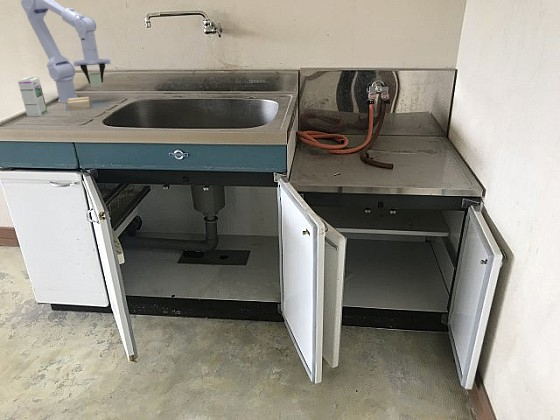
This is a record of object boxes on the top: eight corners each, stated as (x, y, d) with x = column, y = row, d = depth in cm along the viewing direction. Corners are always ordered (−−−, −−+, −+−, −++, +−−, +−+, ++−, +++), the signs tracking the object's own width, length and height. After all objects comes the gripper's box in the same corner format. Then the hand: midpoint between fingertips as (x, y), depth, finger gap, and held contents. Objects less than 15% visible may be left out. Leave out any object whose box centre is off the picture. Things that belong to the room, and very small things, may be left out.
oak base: (69, 105, 200) (68, 98, 198) (89, 103, 202) (88, 96, 201) (69, 110, 193) (68, 102, 192) (90, 108, 196) (88, 100, 194)
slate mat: (66, 104, 204) (66, 103, 204) (107, 100, 209) (107, 99, 209) (65, 112, 192) (65, 111, 192) (109, 108, 197) (109, 106, 197)
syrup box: (41, 117, 186) (32, 79, 180) (26, 117, 186) (17, 80, 180) (48, 113, 191) (39, 76, 185) (33, 113, 191) (24, 77, 185)
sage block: (90, 85, 203) (88, 73, 201) (101, 84, 205) (99, 72, 202) (91, 87, 199) (88, 75, 197) (102, 86, 201) (100, 74, 199)
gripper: (70, 51, 190) (77, 85, 196) (108, 49, 194) (114, 82, 200) (71, 49, 196) (77, 82, 202) (107, 47, 200) (113, 79, 206)
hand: (96, 82), depth 202 cm, fingers closed on sage block, 4 cm apart
